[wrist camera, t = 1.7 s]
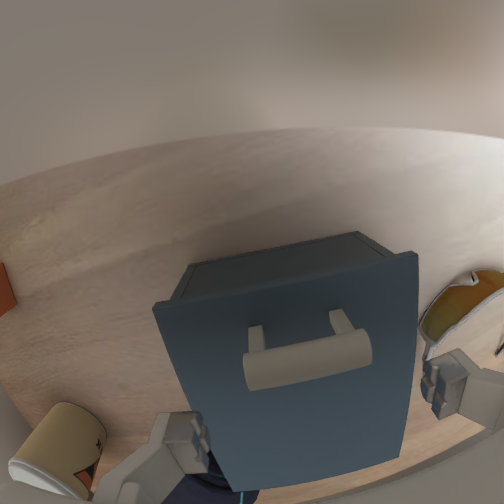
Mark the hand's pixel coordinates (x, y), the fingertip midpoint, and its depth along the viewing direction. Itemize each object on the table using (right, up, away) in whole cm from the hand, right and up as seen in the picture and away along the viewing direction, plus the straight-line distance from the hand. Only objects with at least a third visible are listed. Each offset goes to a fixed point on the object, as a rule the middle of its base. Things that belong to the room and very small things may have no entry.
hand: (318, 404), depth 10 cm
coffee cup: (-24, -16, +20) cm, 35 cm away
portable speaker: (-9, -24, +22) cm, 34 cm away
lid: (+1, -4, +8) cm, 9 cm away
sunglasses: (+21, -3, +17) cm, 27 cm away
